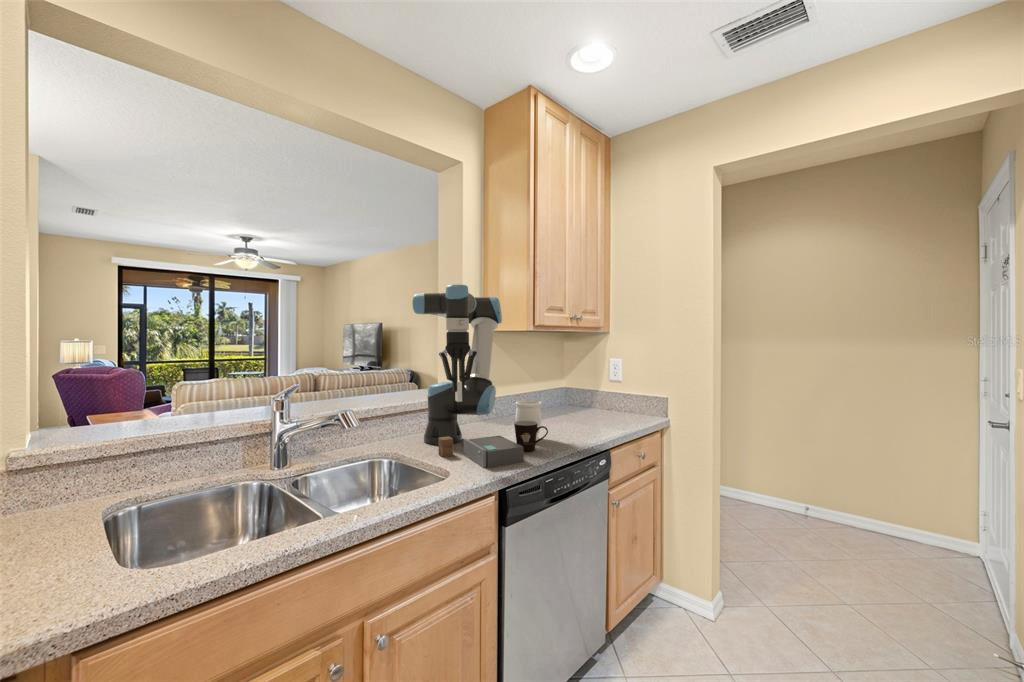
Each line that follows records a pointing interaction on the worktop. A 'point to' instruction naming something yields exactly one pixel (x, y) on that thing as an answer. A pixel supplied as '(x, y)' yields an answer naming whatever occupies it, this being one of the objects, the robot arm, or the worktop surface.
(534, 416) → the jar
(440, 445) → the brown wooden block
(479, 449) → the tray
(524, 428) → the coffee mug
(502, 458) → the housing
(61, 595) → the worktop surface
